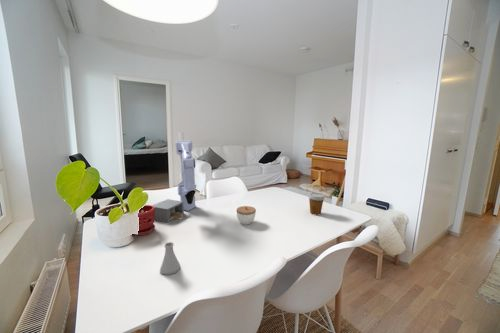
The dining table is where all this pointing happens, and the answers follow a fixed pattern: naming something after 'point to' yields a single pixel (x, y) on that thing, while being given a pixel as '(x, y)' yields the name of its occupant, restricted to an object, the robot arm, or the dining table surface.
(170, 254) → the flask
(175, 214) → the tan t-shaped block
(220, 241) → the dining table surface
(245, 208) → the lidded jar
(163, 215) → the grey slotted box
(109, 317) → the dining table surface
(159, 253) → the dining table surface
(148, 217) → the plant pot
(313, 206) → the disposable coffee cup
